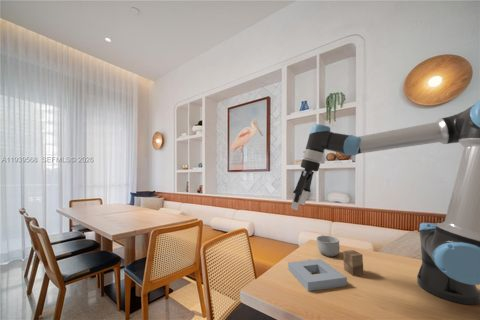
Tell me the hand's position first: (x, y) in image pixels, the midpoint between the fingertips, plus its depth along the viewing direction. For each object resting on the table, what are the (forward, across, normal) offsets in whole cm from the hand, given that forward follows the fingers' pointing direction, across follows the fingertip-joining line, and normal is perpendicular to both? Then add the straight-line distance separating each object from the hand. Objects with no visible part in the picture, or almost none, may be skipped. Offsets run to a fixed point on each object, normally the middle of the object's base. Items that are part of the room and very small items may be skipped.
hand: (298, 206), depth 85 cm
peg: (+20, -9, +28) cm, 35 cm away
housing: (+24, +3, +15) cm, 28 cm away
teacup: (+24, -25, +16) cm, 39 cm away
